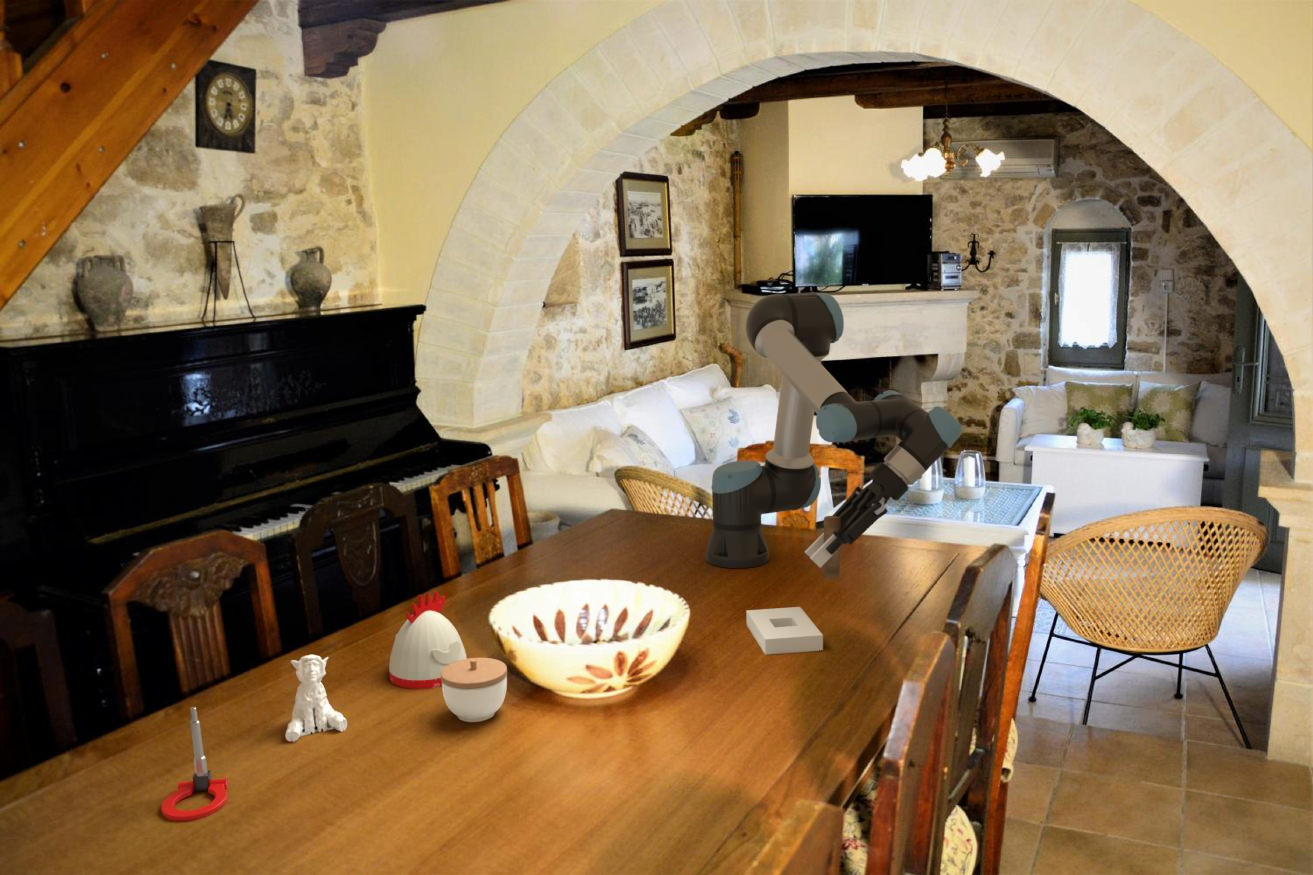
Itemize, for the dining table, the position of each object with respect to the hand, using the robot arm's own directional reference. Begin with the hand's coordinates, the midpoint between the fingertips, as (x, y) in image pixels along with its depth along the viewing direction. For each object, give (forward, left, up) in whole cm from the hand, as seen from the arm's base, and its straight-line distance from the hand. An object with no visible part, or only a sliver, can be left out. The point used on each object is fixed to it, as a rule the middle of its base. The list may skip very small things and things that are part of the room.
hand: (812, 559), depth 209 cm
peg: (0, +4, -4) cm, 5 cm away
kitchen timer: (+10, -74, -14) cm, 76 cm away
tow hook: (+51, -103, -14) cm, 116 cm away
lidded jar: (+29, -65, -14) cm, 73 cm away
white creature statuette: (+29, -91, -14) cm, 97 cm away
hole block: (+5, -7, -14) cm, 16 cm away
